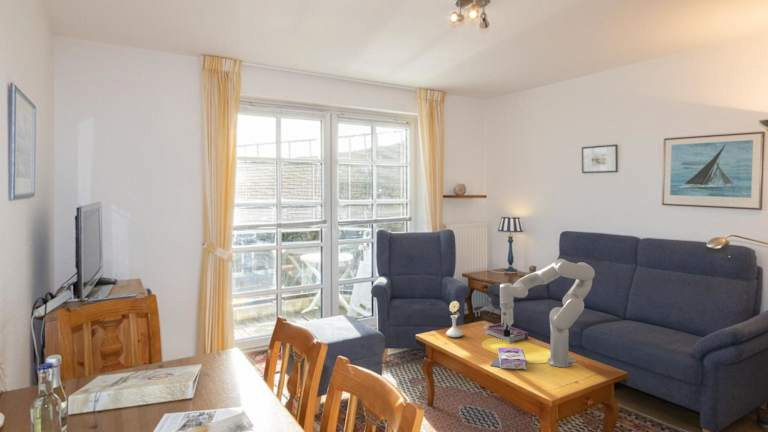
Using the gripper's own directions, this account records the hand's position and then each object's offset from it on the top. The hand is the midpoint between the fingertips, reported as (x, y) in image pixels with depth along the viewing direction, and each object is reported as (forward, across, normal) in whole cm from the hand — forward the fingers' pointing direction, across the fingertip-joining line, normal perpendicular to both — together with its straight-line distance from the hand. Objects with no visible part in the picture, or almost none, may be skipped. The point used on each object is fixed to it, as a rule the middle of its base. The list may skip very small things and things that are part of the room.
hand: (507, 336), depth 255 cm
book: (+15, +44, +12) cm, 48 cm away
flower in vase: (+15, +29, +42) cm, 53 cm away
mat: (+15, -5, 0) cm, 15 cm away
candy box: (+11, +4, -1) cm, 12 cm away
